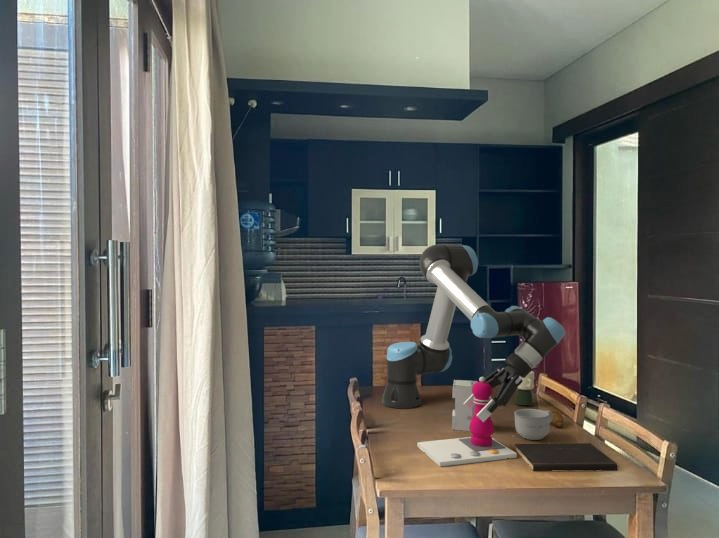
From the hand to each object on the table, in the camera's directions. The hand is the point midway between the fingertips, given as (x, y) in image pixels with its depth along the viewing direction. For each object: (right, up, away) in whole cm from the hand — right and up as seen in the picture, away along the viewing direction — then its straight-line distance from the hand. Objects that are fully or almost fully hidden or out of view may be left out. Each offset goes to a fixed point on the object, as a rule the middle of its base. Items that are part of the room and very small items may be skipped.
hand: (472, 412), depth 159 cm
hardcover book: (+24, -12, -8) cm, 28 cm away
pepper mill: (+3, -10, +1) cm, 10 cm away
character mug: (+30, -10, +47) cm, 56 cm away
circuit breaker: (+4, -11, +19) cm, 22 cm away
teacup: (+22, -11, +11) cm, 27 cm away
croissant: (+33, -11, +26) cm, 43 cm away
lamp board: (-3, -11, -3) cm, 11 cm away
